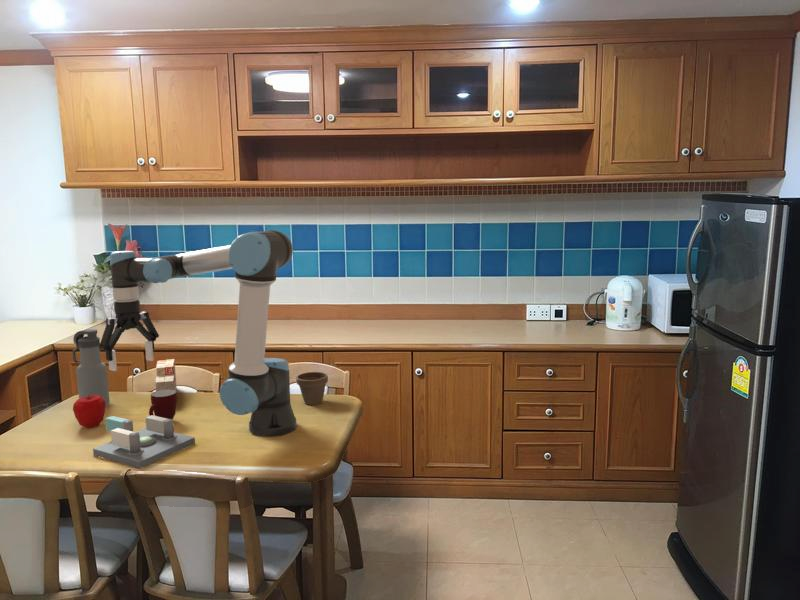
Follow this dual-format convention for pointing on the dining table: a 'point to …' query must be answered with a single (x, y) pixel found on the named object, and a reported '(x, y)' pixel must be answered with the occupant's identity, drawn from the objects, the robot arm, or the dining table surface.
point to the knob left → (126, 439)
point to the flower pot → (312, 386)
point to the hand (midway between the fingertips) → (132, 365)
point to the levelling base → (145, 449)
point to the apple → (89, 410)
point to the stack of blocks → (166, 375)
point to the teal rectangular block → (118, 423)
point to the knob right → (160, 426)
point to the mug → (163, 403)
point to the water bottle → (90, 366)
